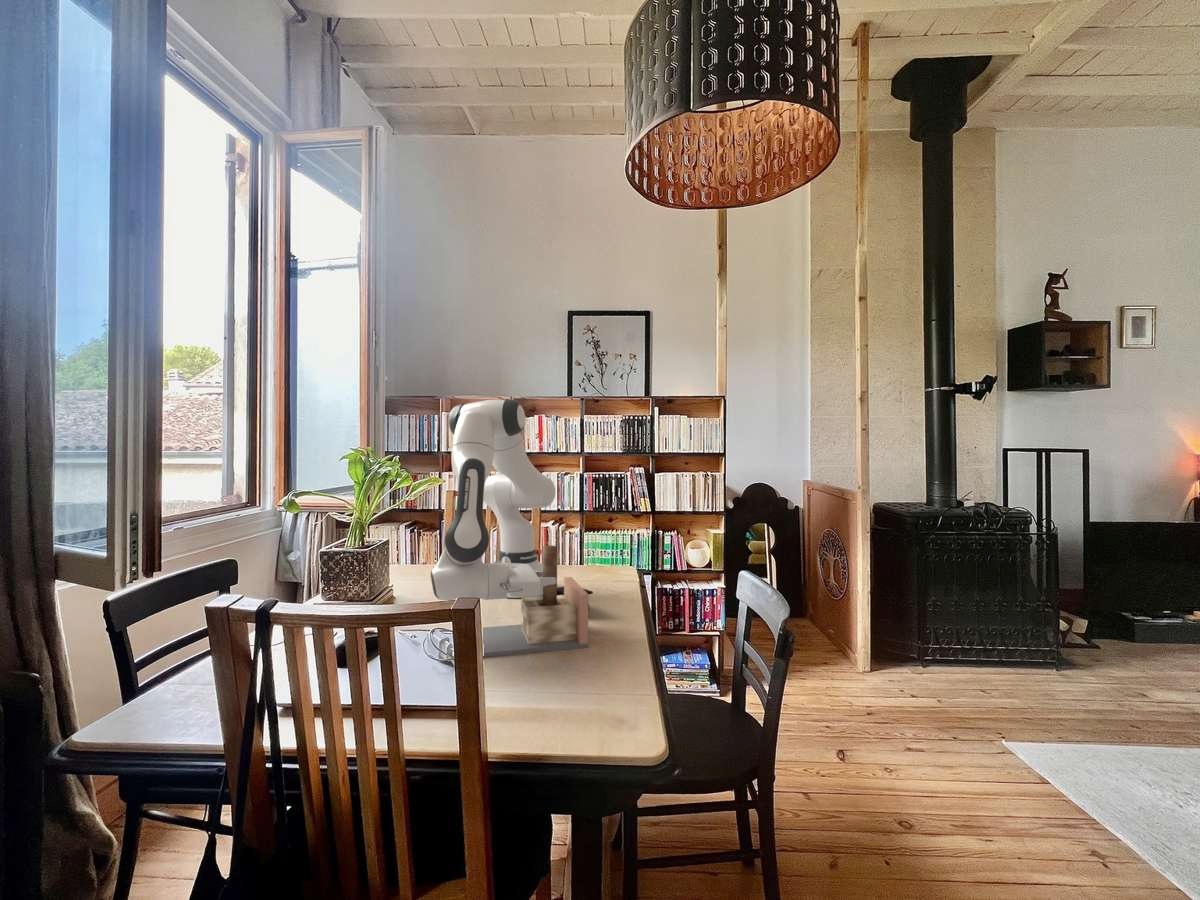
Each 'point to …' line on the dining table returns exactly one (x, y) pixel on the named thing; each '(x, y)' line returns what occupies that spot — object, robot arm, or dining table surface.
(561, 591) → the figurine character
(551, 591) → the dowel
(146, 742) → the dining table surface
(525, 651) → the backstop
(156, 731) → the dining table surface
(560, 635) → the block
